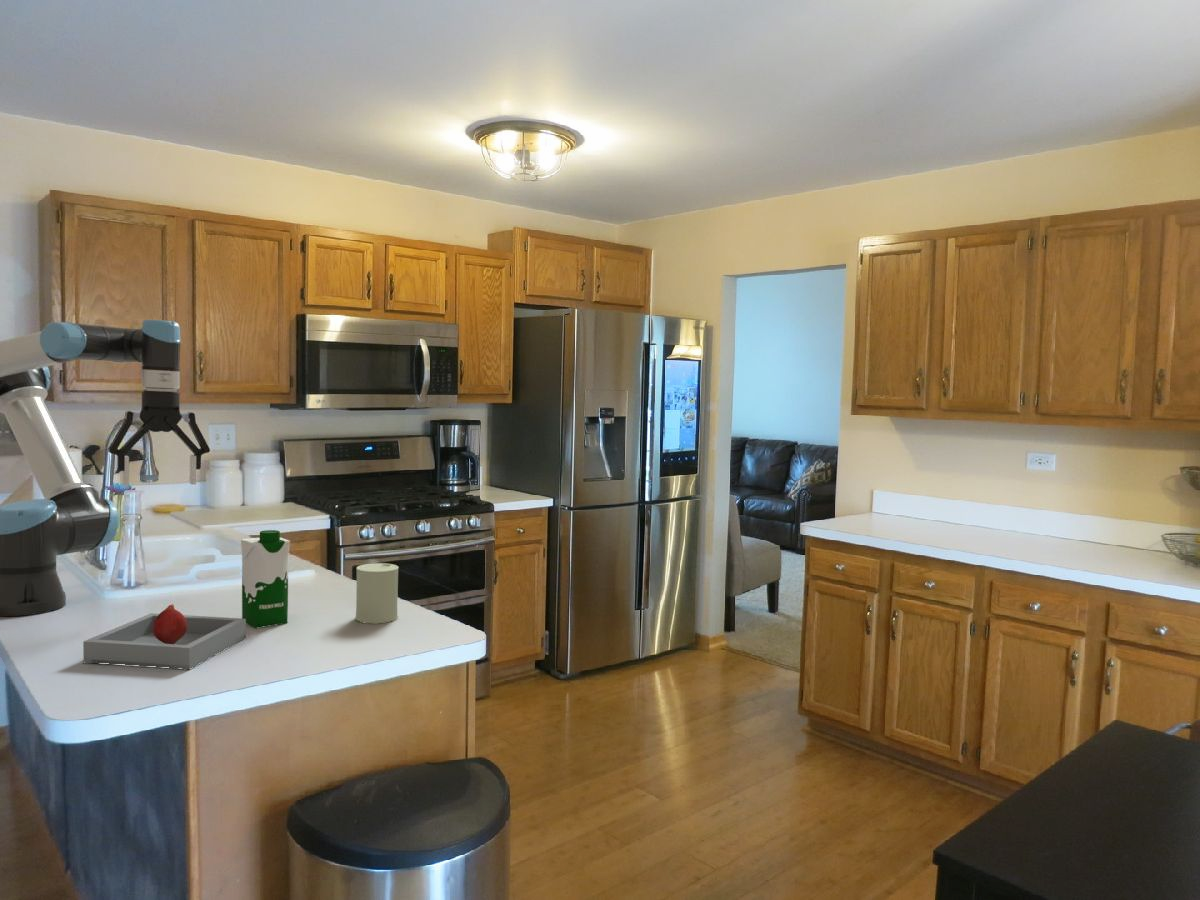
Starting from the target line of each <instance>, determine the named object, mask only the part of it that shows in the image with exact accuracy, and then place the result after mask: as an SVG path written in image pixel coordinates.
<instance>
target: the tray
mask: <svg viewBox="0 0 1200 900" xmlns="http://www.w3.org/2000/svg"><path fill="white" fill-rule="evenodd" d="M159 614H160V613H156V612H155V613H153V612H151V613H148V614H147V615H144V616H141V617H139V618H137V619H134V620H132V621H130V622H126V623H125V624H122V625H119V626H117V627H114V628H112V629H110V630H107V631H105V632H103V633H100V634H97V635H95V636H92V637H91V638H88V639H85V640H84V641H83V650H82V651H83V663H84V662H85V663H84V664H88V663H109V664H125V665H139V666H156V667H169V668H182V669H190V668H192V667H194V666H196V665H198V664H199V663H201V662H203V661H205V660H206V661H208V660H209V659H208V658H210V657H212V656H213V657H215V656H216V655H215V654H217V653H219V652H221V651H222V652H224V651H225V650H224V649H226V648H228V647H229V648H231V647H233V646H234V644H235V643H237V642H238V643H240V642H242V641H243V639H244V638H245V639H247V638H246V637H247V635H246V634H247V632H246V631H247V630H246V629H247V623H246V619H242V617H241V618H238V617H224V616H223V617H221V616H206V615H205V616H204V615H203V616H201V615H189V614H187V615H186V614H183V615H184V617H185V619H186V622H187V630H186V632H185V634H184V635H183V636H182V638H180V639H179V640H178V641H177V642H176V643H175V644H165V643H163V642H161V641H159V640H158V639H157V638H156V637H155V636H154V634H153V624H154V621H155V619H156V617H157V616H158V615H159ZM245 639H244V640H245ZM241 640H242V641H241ZM239 641H240V642H239ZM238 643H237V644H238ZM232 645H233V646H232ZM235 645H236V644H235ZM230 646H231V647H230ZM229 648H228V649H229ZM223 650H224V651H223ZM226 650H227V649H226ZM222 652H221V653H222ZM219 654H220V653H219ZM214 655H215V656H214ZM217 655H218V654H217ZM213 657H212V658H213ZM207 659H208V660H207ZM210 659H211V658H210ZM206 661H205V662H206ZM203 663H204V662H203ZM201 664H202V663H201ZM199 665H200V664H199ZM199 665H198V666H199ZM196 667H197V666H196ZM194 668H195V667H194ZM192 669H193V668H192ZM190 670H191V669H190Z"/></svg>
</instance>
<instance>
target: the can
mask: <svg viewBox="0 0 1200 900" xmlns="http://www.w3.org/2000/svg"><path fill="white" fill-rule="evenodd" d="M399 567H400V566H398V565H397V564H393V563H381V562H378V563H377V562H376V563H366V564H361V565H358V566H357V567H356V570H355V571H356V599H355V600H356V605H355V607H356V608H355V609H356V610H355V621H356V620H357V621H356V622H358V621H360V622H359V623H361V622H365V623H364V624H368V623H381V624H386V623H385V622H388V623H391V621H392V622H395V621H396V620H397V619H398V618H399V616H398V614H399V613H398V597H399V596H398V594H399V593H398V592H399V590H398V589H399V588H398V587H399V586H398V585H399Z"/></svg>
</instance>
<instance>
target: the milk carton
mask: <svg viewBox="0 0 1200 900" xmlns="http://www.w3.org/2000/svg"><path fill="white" fill-rule="evenodd" d="M280 532H281V531H280V530H275V529H274V530H272V529H269V530H267V529H266V530H260V531H259V537H253V538H252V537H251V538H241V539H240V545H241V562H242V564H241V569H242V570H241V573H242V574H241V619H246V625H249V626H250V625H251V626H250V627H252V626H253V627H252V628H254V627H255V629H258V628H257V627H259V628H264V627H263V626H265V627H270V626H269V625H271V626H276V625H275V624H277V625H282V624H281V623H283V624H287V623H288V619H289V618H288V612H289V610H288V609H289V556H290V555H289V553H290V546H291V540H288V539H285V538H283V537H281V536H280V535H281V533H280Z"/></svg>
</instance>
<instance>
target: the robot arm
mask: <svg viewBox="0 0 1200 900" xmlns="http://www.w3.org/2000/svg"><path fill="white" fill-rule="evenodd" d="M141 325H142V327H141V328H124V327H115V326H104V325H95V324H83V323H74V322H70V321H61V322H60V321H59V322H57V321H53V322H49V323H47V324H46V325H45V327H43V328H42V330H41V331H37V332H32V333H29V334H24V335H20V336H17V337H13V338H12V337H11V338H7V339H3V340H0V414H1V413H2V414H4V417H5V419H6V421H7V423H8V425H9V427H10V429H11V431H12V433H13V435H14V437H15V439H16V442H17V443H18V444H17V445H18V446H19V448H20V450H21V452H22V455H23V457H24V458H25V460H26V462H27V465H28V467H29V469H30V471H31V473H32V474H33V477H34V479H35V481H36V483H37V485H38V487H39V489H40V491H41V493H42V496H43V497H44V499H43V498H36V499H29V500H19V501H14V502H10V503H7V504H3V505H2V506H0V617H16V616H19V617H20V616H27V615H29V616H30V615H36V614H42V613H48V612H51V611H52V612H53V611H56V610H58V609H61V608H64V607H65V606H66V605H67V601H66V600H67V598H66V596H67V595H66V592H65V591H64V589H63V585H62V582H61V580H60V577H59V574H58V571H57V556H59V555H60V556H62V555H67V554H73V553H79V552H80V553H81V552H85V551H93V550H96V549H99V548H103V547H105V546H108V545H109V544H110V543H112V541H113V540H114V539H115V538H116V537H117V535H118V532H119V527H120V513H119V509H118V507H117V505H116V504H115V503H114V501H112V500H110V499H109V498H105V497H102V498H101V497H99V494H98V493H97V491H96V488H95V487H94V486H92V485H89V484H85V483H84V481H83V479H82V477H81V475H80V472H79V470H78V468H77V467H76V466H77V465H76V464H75V463H74V460H73V458H72V456H71V454H70V452H69V450H68V447H67V446H66V444H65V441H64V440H63V438H62V435H61V434H60V432H59V429H58V428H57V425H56V423H55V422H54V419H53V417H52V415H51V413H50V411H49V409H48V407H47V404H46V403H45V400H46V398H47V397H48V394H49V393H48V390H49V389H50V385H51V380H50V379H49V378H51V374H50V373H51V372H50V369H49V367H51V366H55V365H60V364H63V363H68V362H70V363H71V362H74V361H79V360H80V361H81V360H83V361H84V360H86V361H87V360H88V361H103V362H114V363H141V388H143V389H144V390H142V391H141V410H140V412H135V411H130V410H126V411H125V414H124V419H123V422H122V424H121V426H120V427H119V429H118V431H117V433H116V434H115V435H114V437H113V439H112V441H111V442H110V445H109V446H108V448H107V451H108V452H109V453H110V454H113V455H115V456H117V457H116V458H117V459H116V460H117V462H116V464H117V465H116V466H117V471H119V472H122V487H129V485H130V484H129V482H130V456H128V455H126V454H128V453H129V451H131V450H132V448H133V447H134V446H135V445H136V444H137V443H138V442H139V441H140V440H141V439H142V438H143V437H144V436H145V435H147V433H148V432H149V431H150V432H152V433H160V432H164V433H169V432H171V431H172V432H173V433H174V434H175V435H177V437H178V438H179V439H180V440H181V441H182V442H183V444H184V445H185V446H186V447H187V448H188V449H189V450H190V451H191V452H192V454H190V455H189V484H190V485H192V486H193V485H197V470H201V468H202V456H203V455H204V454H209V453H210V451H211V449H210V447H209V444H208V442H207V441H206V439H205V437H204V435H203V433H202V432H201V430H200V428H199V425H198V423H197V422H196V413H194V412H191V411H189V412H186V413H185V412H184V413H183V412H182V413H181V411H180V406H181V405H180V404H181V403H180V400H181V399H180V398H181V397H180V392H179V391H178V390H180V388H181V386H180V384H181V382H180V380H181V379H180V378H181V377H180V373H181V372H180V371H181V364H180V363H181V342H182V338H181V330H180V329H181V328H180V327H181V326H180V325H179V323H178V322H176V321H172V320H165V319H163V320H162V319H144V320H143V321H142V324H141ZM138 418H139V419H140V420H141V422H142V423H143V424H142V425H141V426H140V427H139V428H138V429H137V430H136V432H135V433H133V435H131V437H130V438H129V439H128V440H127V441H126V442H125V443H124V444H123V445H122V446H121V447H120V445H121V443H122V442H123V440H124V438H125V436H126V435H127V433H128V431H129V430H130V428H131V426H132V423H133V422H136V421H137V419H138ZM182 419H183V420H184V422H185V423H187V424H188V426H189V428H190V431H191V433H192V434H193V436H194V437H195V440H196V441H197V443H198V445H199V447H198V446H197V445H196V444H195V443H194V442H193V441H192V440H191V439H190V437H189V436H188V435H187V434H186V433H185V431H183V429H182V428H181V427H180V426H179V425H178V424H179V423H180V421H181V420H182ZM119 447H120V448H119Z"/></svg>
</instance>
